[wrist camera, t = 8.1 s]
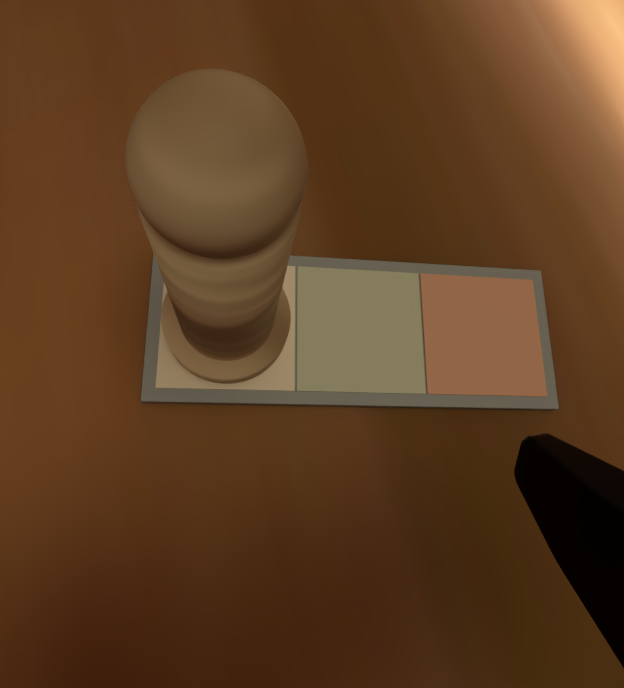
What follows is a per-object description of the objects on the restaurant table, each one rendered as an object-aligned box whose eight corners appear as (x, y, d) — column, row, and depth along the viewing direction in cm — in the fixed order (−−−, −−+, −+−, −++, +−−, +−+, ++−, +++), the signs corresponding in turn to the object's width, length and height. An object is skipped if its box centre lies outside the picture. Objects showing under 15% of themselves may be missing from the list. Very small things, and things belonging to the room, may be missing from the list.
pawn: (254, 404, 21) (284, 291, 8) (141, 349, 21) (-3, 150, 8) (307, 300, 22) (399, 70, 10) (202, 248, 22) (158, -51, 10)
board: (142, 402, 21) (140, 400, 20) (155, 251, 22) (153, 246, 22) (553, 410, 23) (560, 408, 23) (536, 273, 25) (541, 269, 25)
